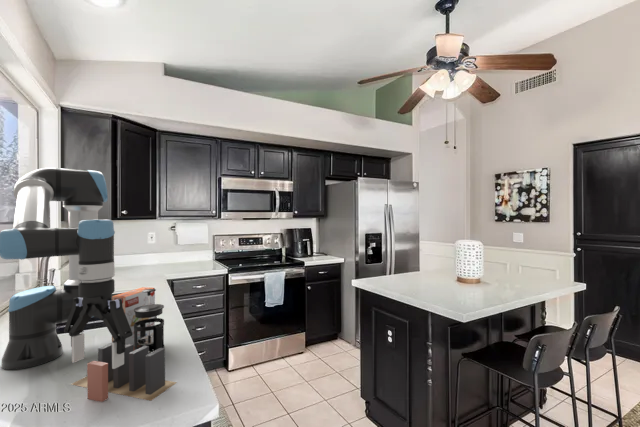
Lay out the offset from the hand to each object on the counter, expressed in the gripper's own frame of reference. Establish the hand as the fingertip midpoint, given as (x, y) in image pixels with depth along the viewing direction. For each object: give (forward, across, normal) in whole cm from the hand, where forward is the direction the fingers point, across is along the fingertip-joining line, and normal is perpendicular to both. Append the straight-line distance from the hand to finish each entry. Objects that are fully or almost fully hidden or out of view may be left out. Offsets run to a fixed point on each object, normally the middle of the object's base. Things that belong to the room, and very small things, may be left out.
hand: (97, 363), depth 80 cm
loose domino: (+10, 0, 0) cm, 10 cm away
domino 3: (+9, +5, +8) cm, 13 cm away
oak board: (+10, 0, +8) cm, 13 cm away
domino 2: (+9, 0, +8) cm, 12 cm away
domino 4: (+9, +11, +8) cm, 16 cm away
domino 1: (+9, -6, +8) cm, 13 cm away
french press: (+10, -8, +24) cm, 27 cm away
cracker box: (+10, -18, +28) cm, 35 cm away
